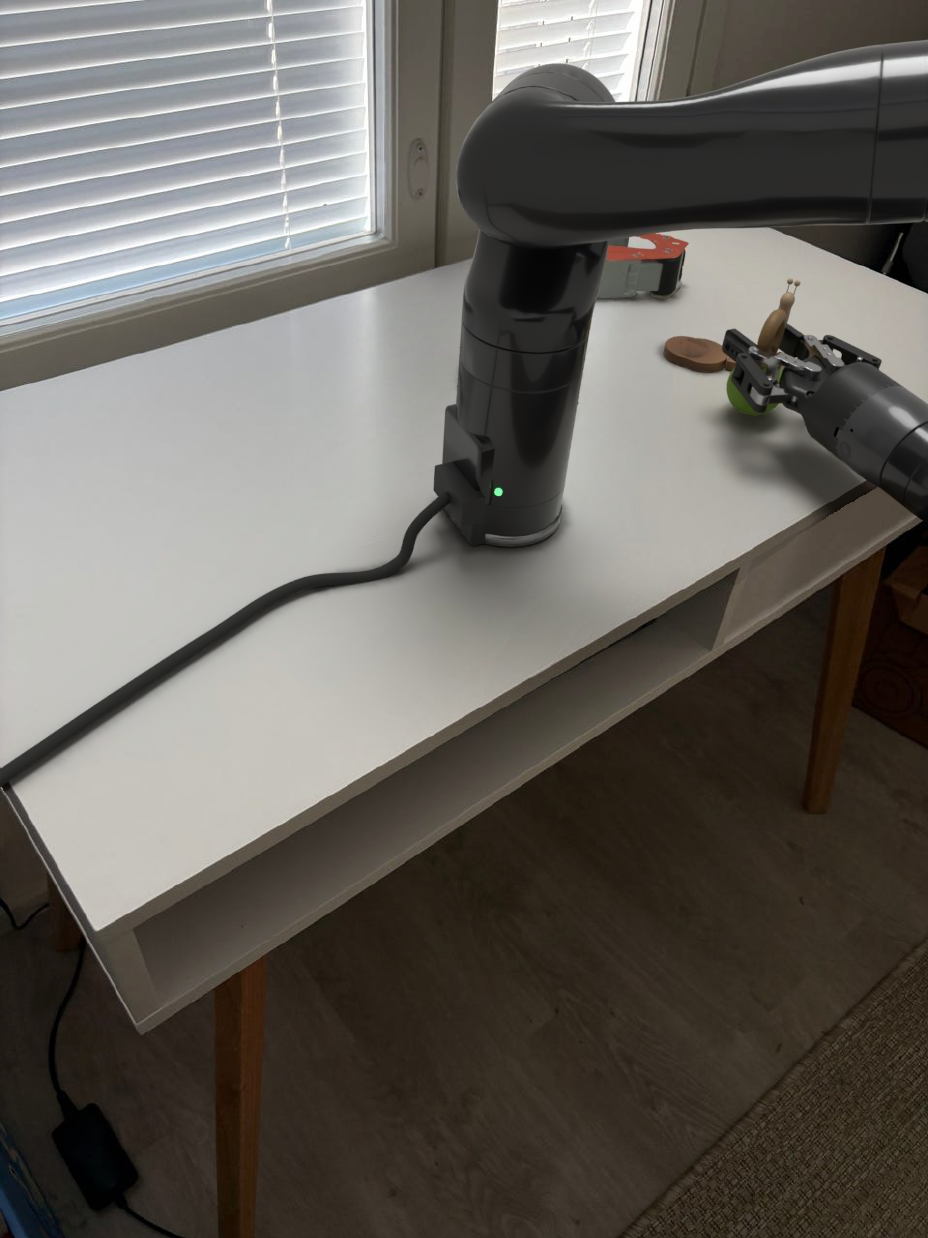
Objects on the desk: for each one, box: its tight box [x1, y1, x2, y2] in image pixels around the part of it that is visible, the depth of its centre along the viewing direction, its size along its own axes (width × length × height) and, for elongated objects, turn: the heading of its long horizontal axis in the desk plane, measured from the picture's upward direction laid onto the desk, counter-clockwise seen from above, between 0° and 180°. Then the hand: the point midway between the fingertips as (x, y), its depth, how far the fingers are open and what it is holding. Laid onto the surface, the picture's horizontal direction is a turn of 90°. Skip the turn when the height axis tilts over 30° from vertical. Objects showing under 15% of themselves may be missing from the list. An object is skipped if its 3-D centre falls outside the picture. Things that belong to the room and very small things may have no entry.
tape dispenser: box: [597, 233, 689, 299], centre depth 113 cm, size 18×5×20 cm
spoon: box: [663, 335, 785, 373], centre depth 103 cm, size 20×5×1 cm, turn 70°
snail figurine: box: [726, 277, 801, 417], centre depth 93 cm, size 5×6×12 cm
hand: (750, 333), depth 95 cm, fingers closed on snail figurine, 4 cm apart
